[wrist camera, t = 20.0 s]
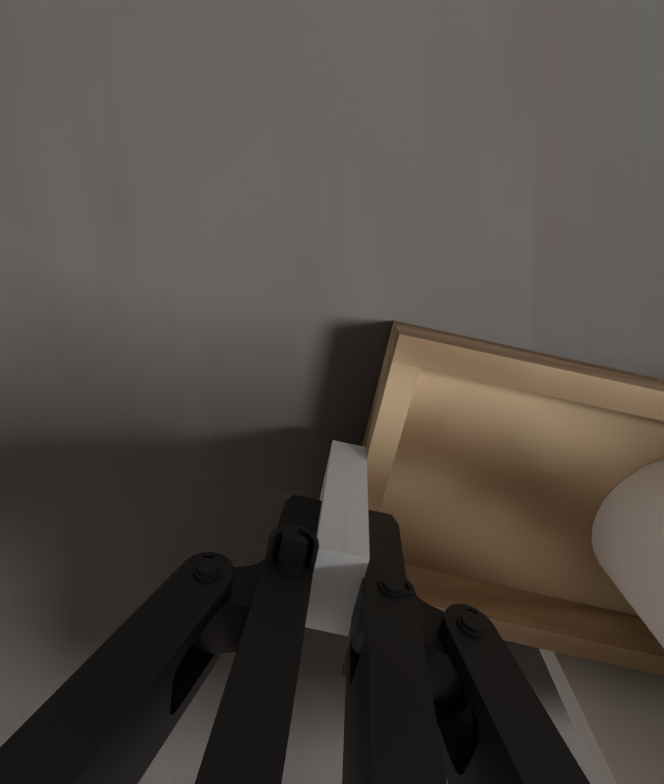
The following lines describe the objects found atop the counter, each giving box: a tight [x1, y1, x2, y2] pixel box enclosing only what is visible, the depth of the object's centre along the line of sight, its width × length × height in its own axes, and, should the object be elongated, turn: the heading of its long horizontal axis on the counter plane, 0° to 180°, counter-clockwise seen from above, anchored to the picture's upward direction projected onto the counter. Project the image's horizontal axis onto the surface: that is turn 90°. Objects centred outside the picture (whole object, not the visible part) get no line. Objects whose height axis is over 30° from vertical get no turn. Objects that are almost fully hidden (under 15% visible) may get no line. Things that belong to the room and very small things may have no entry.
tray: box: [362, 321, 664, 676], centre depth 17 cm, size 12×20×3 cm, turn 79°
